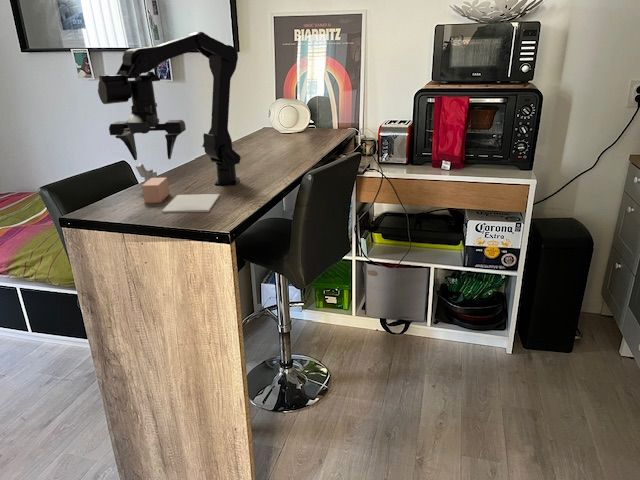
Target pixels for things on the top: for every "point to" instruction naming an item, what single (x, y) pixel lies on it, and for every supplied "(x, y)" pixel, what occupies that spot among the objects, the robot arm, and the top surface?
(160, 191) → the tan rectangular block
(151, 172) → the grey jagged block
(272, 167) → the top surface
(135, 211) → the top surface
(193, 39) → the robot arm
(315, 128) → the top surface
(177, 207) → the mat
